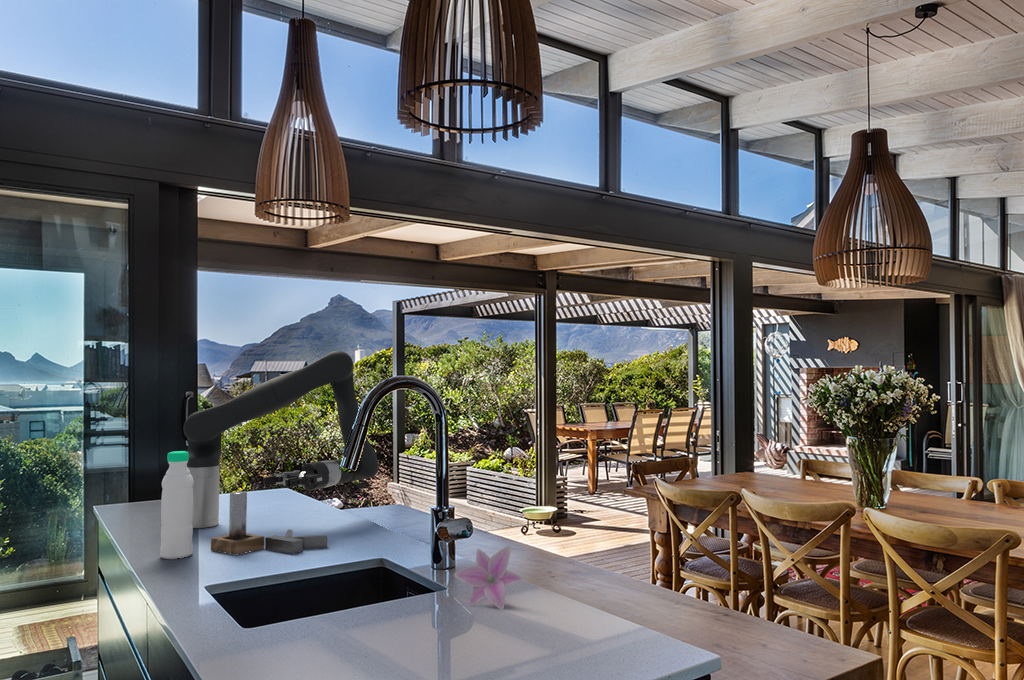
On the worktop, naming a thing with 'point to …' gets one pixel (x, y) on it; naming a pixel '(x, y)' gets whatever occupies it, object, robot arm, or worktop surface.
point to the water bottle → (177, 508)
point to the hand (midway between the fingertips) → (275, 482)
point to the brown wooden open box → (237, 544)
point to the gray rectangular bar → (238, 515)
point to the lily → (489, 577)
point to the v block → (294, 543)
